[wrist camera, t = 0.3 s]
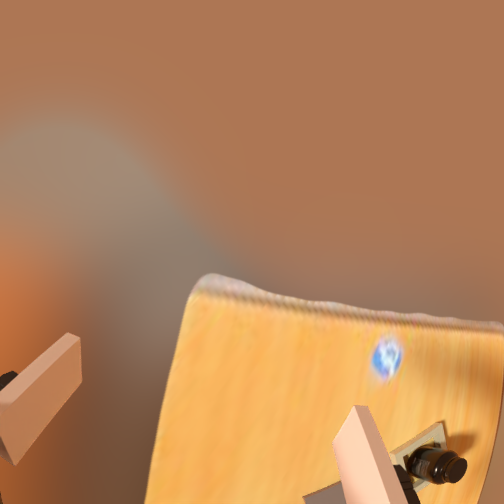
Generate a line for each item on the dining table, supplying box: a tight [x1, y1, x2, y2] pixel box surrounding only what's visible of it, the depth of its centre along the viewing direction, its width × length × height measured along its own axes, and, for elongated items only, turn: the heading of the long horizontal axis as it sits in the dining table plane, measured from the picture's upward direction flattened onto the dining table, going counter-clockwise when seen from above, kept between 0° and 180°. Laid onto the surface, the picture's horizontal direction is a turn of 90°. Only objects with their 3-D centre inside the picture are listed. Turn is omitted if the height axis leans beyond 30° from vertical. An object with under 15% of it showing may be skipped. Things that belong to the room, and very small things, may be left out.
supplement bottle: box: [407, 446, 467, 485], centre depth 36 cm, size 7×7×12 cm
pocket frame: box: [389, 423, 447, 493], centre depth 41 cm, size 12×12×2 cm
